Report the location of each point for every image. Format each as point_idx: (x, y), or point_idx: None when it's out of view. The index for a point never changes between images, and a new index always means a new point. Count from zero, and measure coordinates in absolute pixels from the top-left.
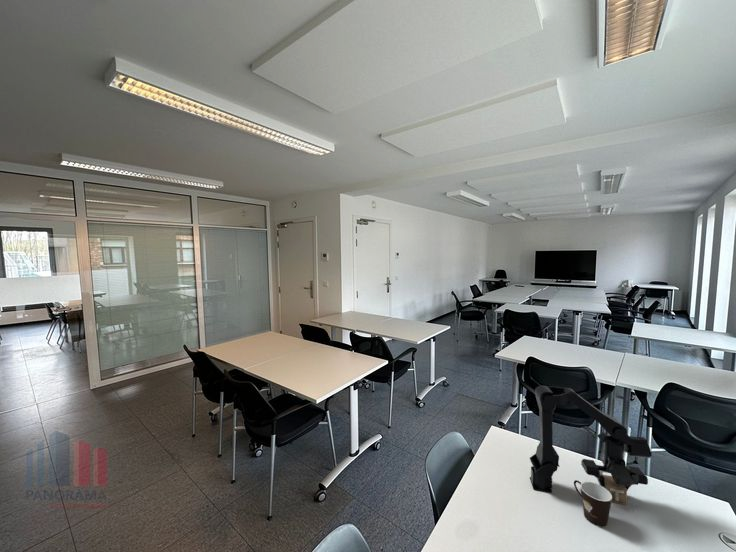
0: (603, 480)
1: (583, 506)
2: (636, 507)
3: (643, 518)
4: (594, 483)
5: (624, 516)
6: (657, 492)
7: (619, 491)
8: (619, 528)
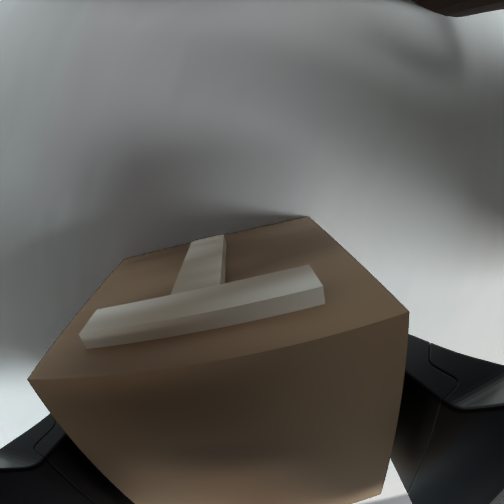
0: (448, 401)
1: None
2: (55, 264)
3: (26, 132)
4: None
5: (178, 45)
6: None
7: (154, 309)
8: None
